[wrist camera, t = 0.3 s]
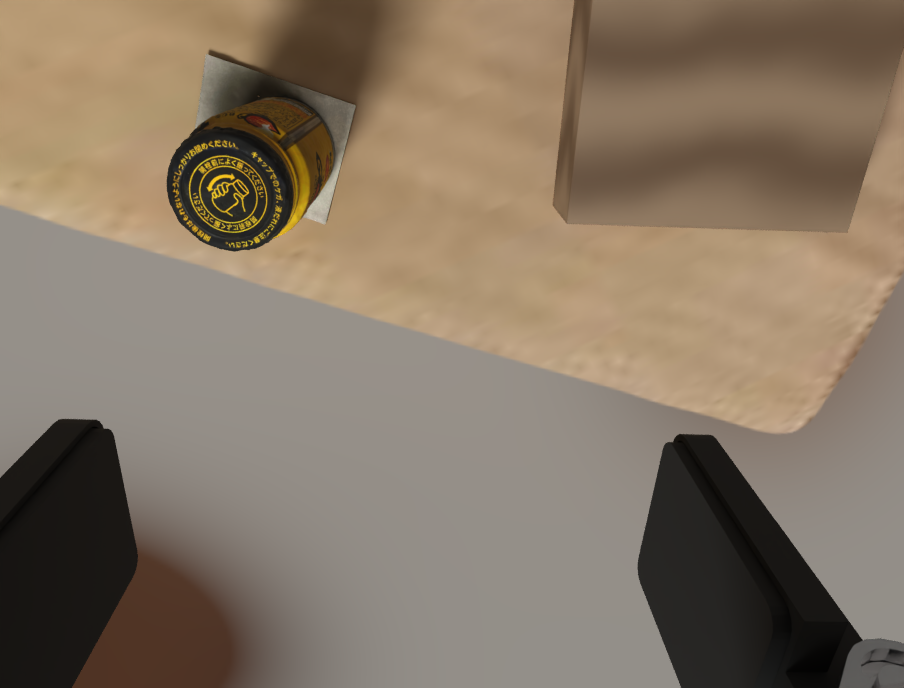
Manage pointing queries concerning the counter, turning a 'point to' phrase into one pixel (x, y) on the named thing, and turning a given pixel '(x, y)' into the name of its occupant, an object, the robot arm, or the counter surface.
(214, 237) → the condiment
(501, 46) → the counter surface
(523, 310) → the counter surface
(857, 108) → the chopping block
